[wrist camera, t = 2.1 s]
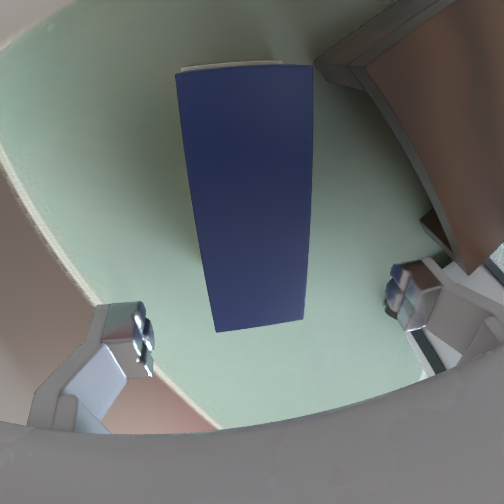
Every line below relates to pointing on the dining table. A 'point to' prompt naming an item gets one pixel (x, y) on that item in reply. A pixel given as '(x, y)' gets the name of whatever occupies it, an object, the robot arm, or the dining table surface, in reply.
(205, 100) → the navy block white base
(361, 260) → the dining table surface
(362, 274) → the dining table surface
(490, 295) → the coffee press
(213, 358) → the dining table surface
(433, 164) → the shelf
